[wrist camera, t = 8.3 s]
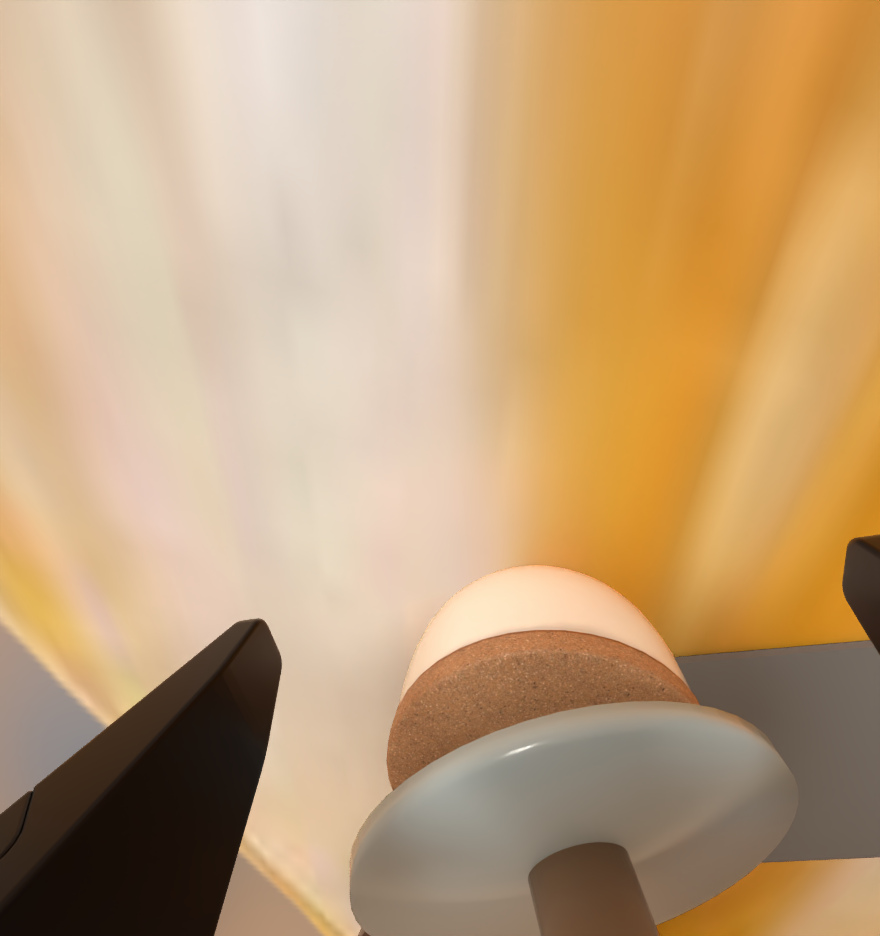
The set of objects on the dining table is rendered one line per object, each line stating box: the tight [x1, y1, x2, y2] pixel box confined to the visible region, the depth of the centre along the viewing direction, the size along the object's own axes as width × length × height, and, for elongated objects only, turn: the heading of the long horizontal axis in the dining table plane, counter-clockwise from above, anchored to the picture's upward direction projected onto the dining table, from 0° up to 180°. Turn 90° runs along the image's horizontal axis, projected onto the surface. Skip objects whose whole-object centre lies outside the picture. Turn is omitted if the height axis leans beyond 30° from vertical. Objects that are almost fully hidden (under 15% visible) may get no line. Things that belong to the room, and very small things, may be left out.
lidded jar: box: [387, 565, 700, 790], centre depth 21 cm, size 11×11×9 cm
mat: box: [674, 640, 880, 863], centre depth 29 cm, size 16×16×1 cm
